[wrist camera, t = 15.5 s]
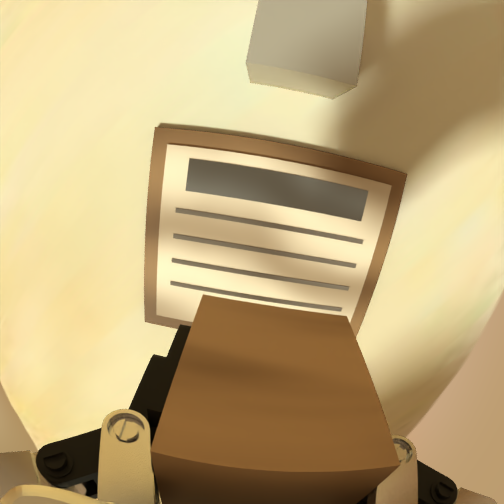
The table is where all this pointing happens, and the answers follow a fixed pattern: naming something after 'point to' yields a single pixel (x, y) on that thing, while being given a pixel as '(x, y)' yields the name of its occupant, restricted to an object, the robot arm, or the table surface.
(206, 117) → the table surface
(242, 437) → the walnut block
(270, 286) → the brown white flat panel
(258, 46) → the block
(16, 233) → the table surface
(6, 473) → the robot arm
